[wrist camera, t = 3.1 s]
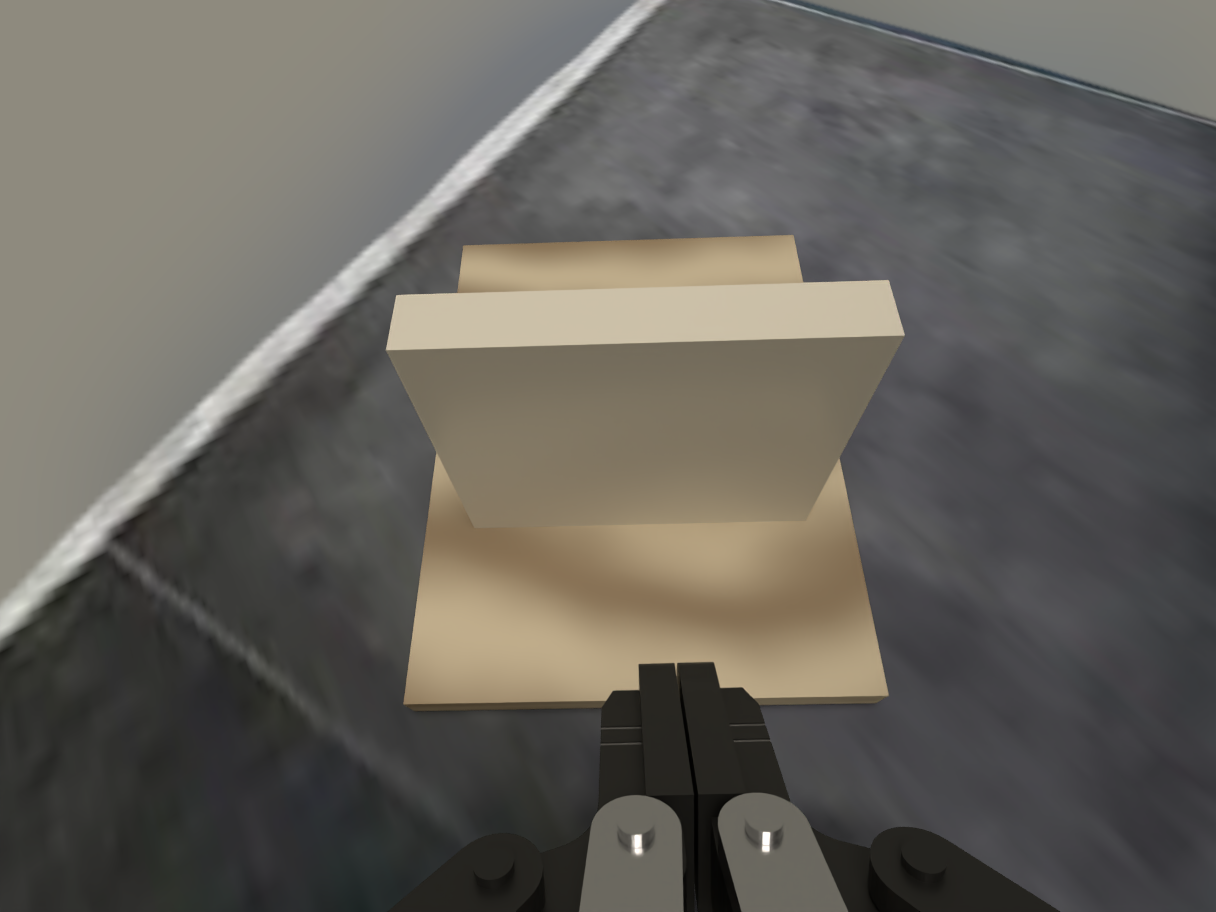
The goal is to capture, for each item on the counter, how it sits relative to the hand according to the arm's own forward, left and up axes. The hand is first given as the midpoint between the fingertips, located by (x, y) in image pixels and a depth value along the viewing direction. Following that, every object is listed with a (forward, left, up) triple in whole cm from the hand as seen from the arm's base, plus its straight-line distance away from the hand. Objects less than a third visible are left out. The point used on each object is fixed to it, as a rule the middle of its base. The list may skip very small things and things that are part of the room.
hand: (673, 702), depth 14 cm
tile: (-8, -7, -12) cm, 16 cm away
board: (-11, -9, -14) cm, 20 cm away
